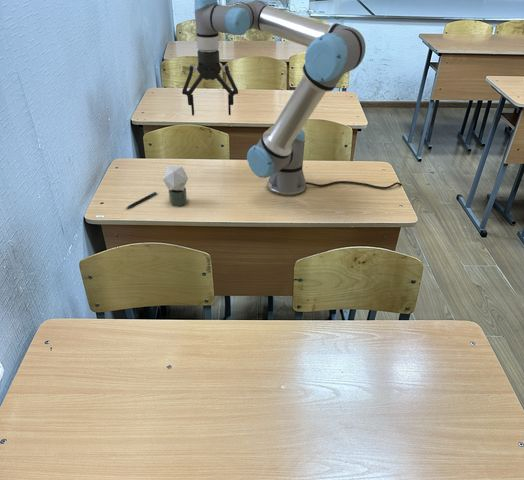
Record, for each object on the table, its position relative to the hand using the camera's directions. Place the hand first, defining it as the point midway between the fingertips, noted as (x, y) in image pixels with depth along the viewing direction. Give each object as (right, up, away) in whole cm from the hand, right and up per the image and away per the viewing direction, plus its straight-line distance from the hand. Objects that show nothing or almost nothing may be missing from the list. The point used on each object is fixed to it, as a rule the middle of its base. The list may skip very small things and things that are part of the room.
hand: (211, 114), depth 189 cm
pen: (-27, -32, +3) cm, 42 cm away
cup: (-13, -32, +3) cm, 35 cm away
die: (-13, -28, -1) cm, 31 cm away
